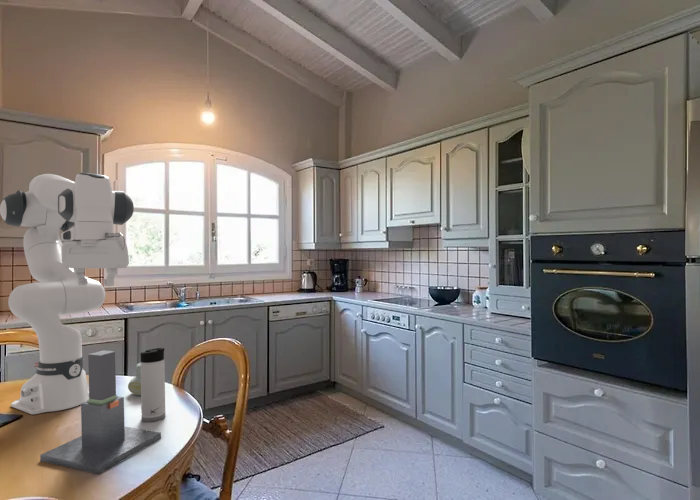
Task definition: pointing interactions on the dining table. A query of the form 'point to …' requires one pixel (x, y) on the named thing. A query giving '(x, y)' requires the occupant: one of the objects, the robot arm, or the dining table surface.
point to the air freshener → (136, 382)
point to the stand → (101, 439)
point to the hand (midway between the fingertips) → (95, 285)
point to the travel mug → (152, 385)
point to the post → (102, 377)
